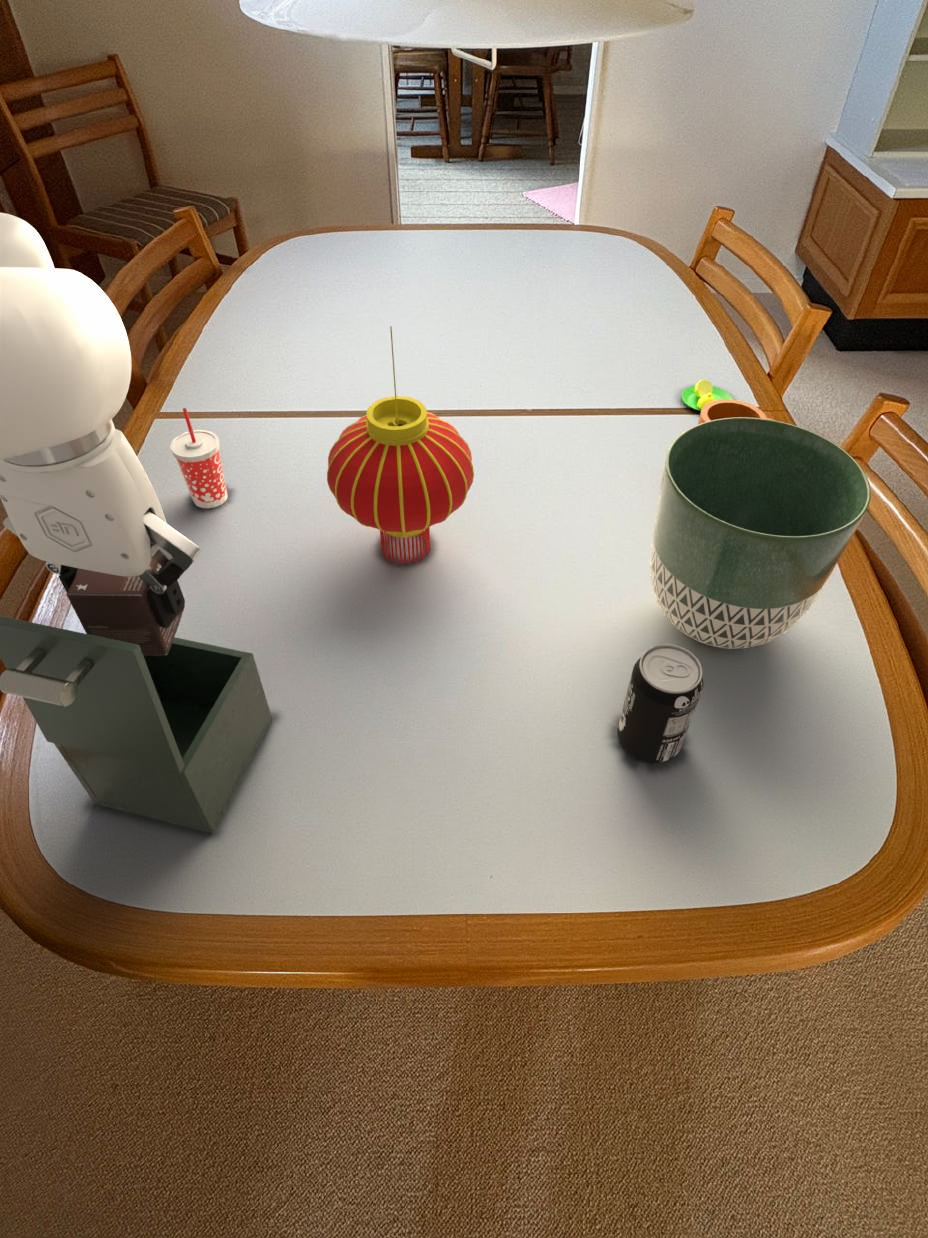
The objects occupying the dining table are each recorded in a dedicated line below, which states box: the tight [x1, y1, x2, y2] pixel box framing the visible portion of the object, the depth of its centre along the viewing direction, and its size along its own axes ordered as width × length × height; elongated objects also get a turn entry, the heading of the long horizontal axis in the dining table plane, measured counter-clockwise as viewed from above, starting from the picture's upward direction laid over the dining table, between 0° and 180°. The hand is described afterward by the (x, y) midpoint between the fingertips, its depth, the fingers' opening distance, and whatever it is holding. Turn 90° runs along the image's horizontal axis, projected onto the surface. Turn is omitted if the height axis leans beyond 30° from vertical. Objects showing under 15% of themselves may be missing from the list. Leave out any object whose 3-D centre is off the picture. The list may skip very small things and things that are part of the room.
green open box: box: [53, 636, 273, 834], centre depth 75 cm, size 14×13×11 cm
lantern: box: [326, 325, 475, 565], centre depth 90 cm, size 17×17×30 cm
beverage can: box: [616, 643, 705, 765], centre depth 77 cm, size 7×7×12 cm
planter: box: [649, 417, 872, 650], centre depth 85 cm, size 20×20×21 cm
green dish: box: [681, 379, 734, 412], centre depth 124 cm, size 8×8×3 cm
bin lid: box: [0, 615, 184, 773], centre depth 60 cm, size 14×13×5 cm
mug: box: [697, 399, 776, 425], centre depth 109 cm, size 9×12×9 cm
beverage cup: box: [170, 407, 228, 509], centre depth 103 cm, size 6×6×14 cm
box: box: [66, 557, 186, 655], centre depth 65 cm, size 6×6×7 cm
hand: (131, 605), depth 65 cm, fingers closed on box, 6 cm apart
